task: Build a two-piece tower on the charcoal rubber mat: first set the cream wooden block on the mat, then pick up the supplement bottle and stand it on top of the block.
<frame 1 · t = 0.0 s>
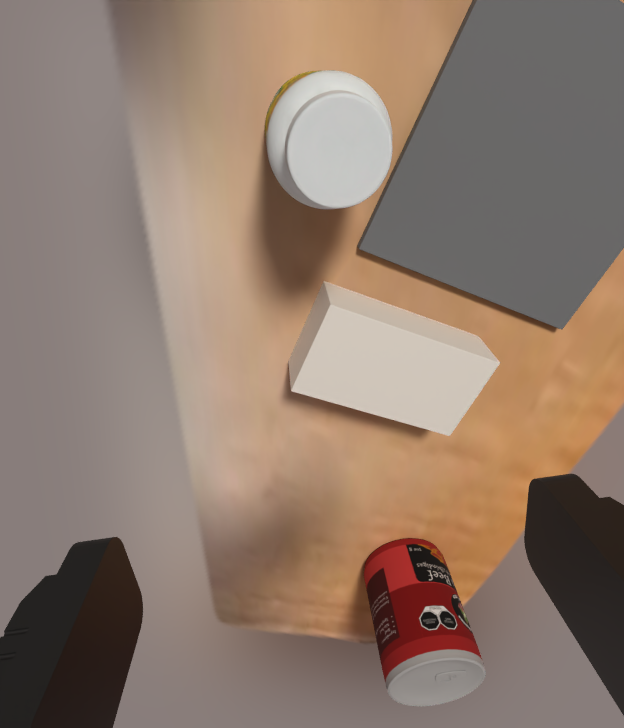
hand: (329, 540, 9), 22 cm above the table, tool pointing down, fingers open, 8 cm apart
canned food: (401, 559, 47), on the table
riser block: (382, 346, 34), on the table
supplement bottle: (314, 128, 26), on the table
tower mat: (537, 169, 28), on the table
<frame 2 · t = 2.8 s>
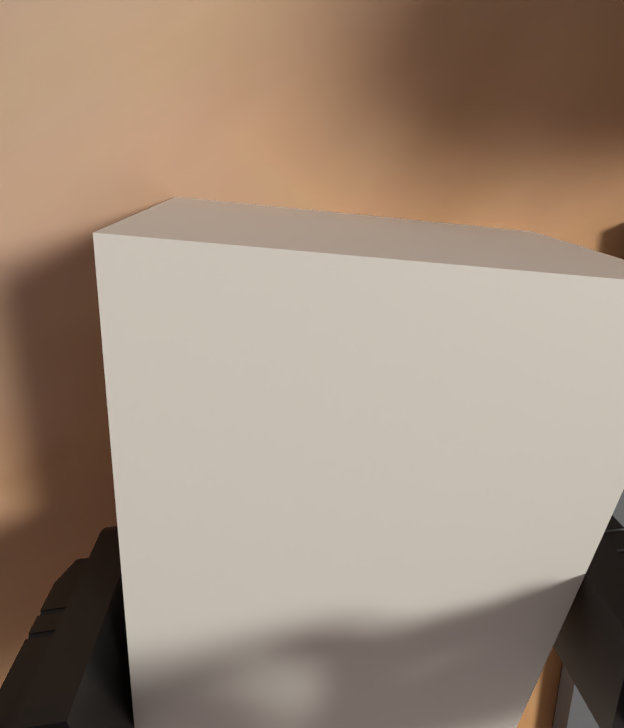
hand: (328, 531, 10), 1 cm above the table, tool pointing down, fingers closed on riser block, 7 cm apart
riser block: (323, 487, 11), on the table, touching gripper
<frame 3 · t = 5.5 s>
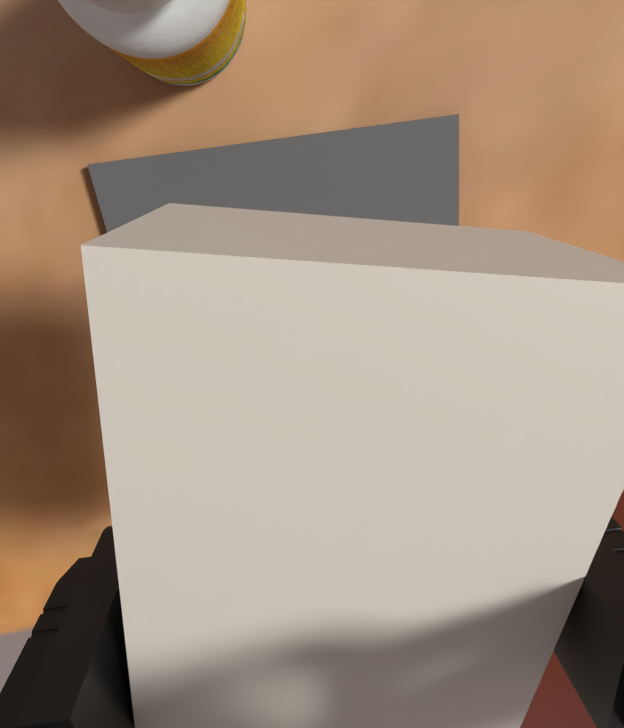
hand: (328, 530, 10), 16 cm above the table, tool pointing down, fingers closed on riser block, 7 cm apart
riser block: (323, 490, 11), point 14 cm above the table, touching gripper
supplement bottle: (180, 12, 19), on the table
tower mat: (299, 313, 24), on the table
when the fingers open (3 cm above the table, at t = 8.7 s): riser block stays where it is, resting on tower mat.
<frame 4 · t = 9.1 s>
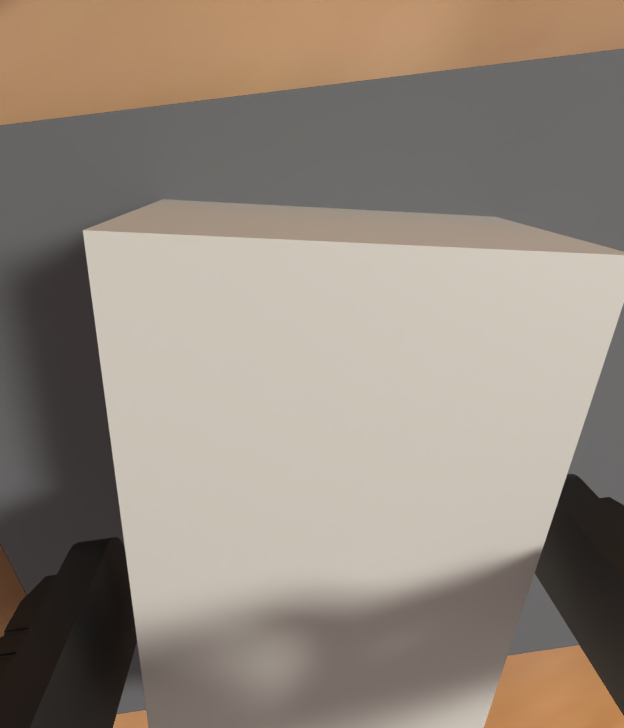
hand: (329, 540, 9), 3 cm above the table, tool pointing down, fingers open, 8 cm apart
riser block: (315, 468, 11), point 1 cm above the table, touching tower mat
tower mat: (317, 455, 12), on the table
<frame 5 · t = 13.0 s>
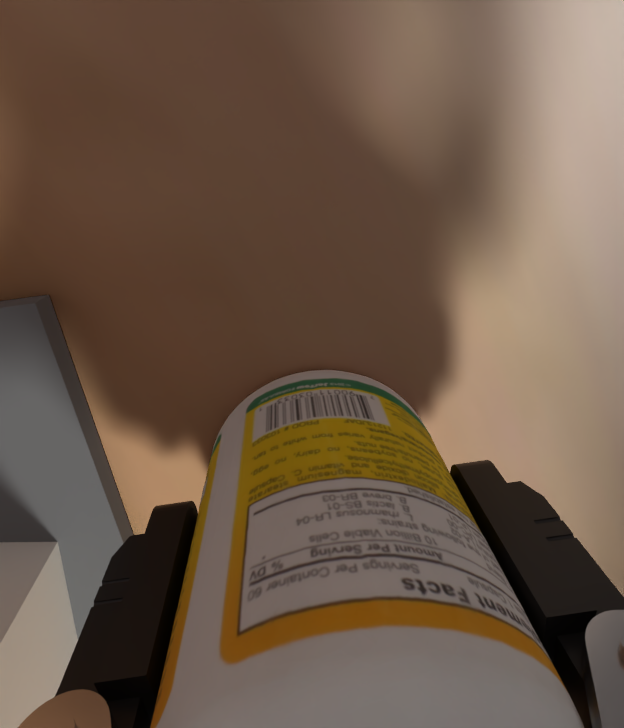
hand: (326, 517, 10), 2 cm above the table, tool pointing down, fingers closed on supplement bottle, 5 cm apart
supplement bottle: (318, 457, 12), on the table, touching gripper
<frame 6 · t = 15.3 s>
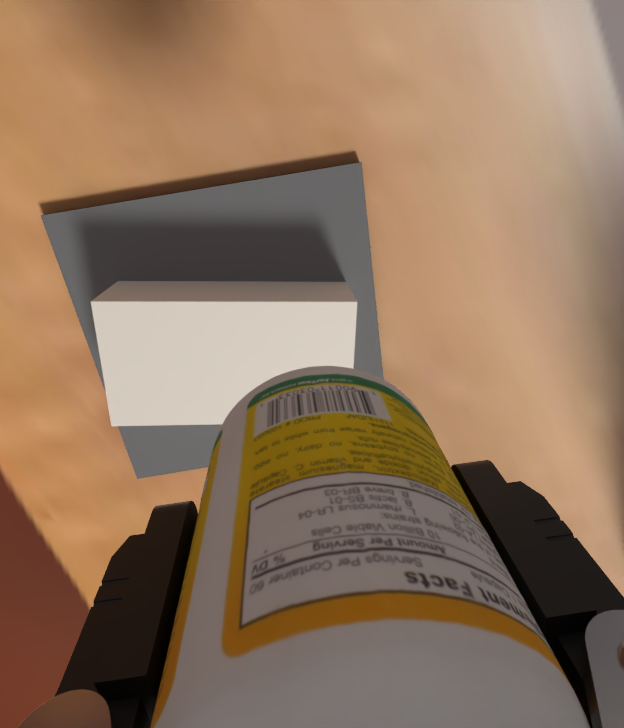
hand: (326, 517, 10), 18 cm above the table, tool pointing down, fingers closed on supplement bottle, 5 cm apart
riser block: (236, 337, 26), point 1 cm above the table, touching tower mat
supplement bottle: (319, 454, 12), point 16 cm above the table, touching gripper
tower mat: (236, 335, 27), on the table
when the fingers open (8 cm above the table, at t = 17.9 s): supplement bottle stays where it is, resting on riser block.
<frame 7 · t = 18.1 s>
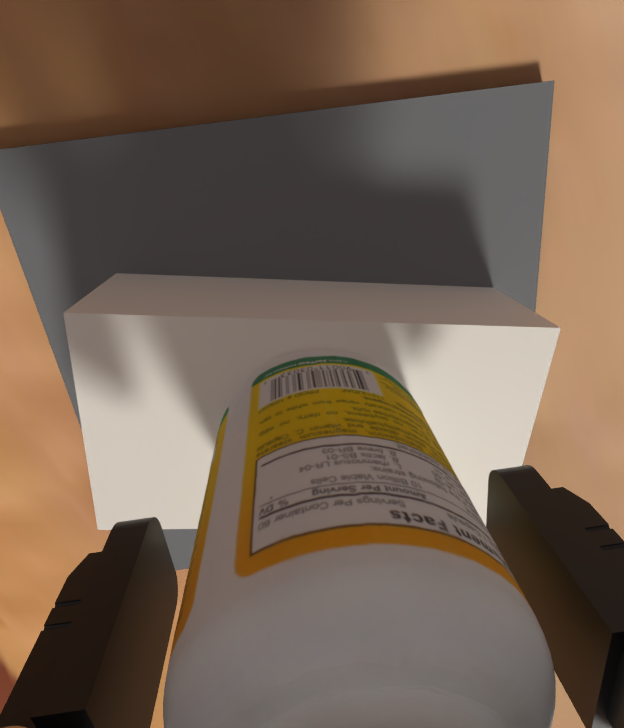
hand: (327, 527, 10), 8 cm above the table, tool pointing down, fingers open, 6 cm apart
riser block: (306, 372, 16), point 1 cm above the table, touching supplement bottle, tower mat
supplement bottle: (317, 432, 13), point 4 cm above the table, touching riser block
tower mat: (304, 368, 17), on the table
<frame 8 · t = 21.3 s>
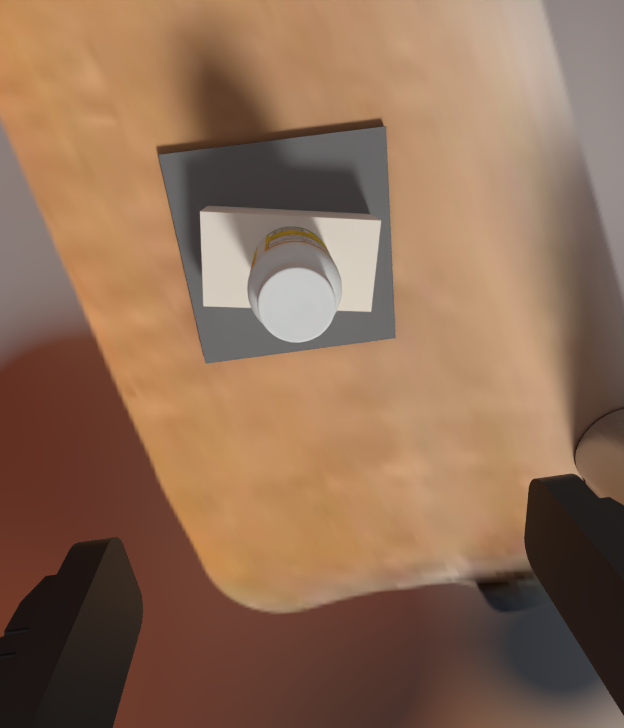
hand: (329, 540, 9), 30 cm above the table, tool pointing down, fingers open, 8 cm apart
riser block: (288, 253, 36), point 1 cm above the table, touching supplement bottle, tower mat
supplement bottle: (291, 264, 33), point 4 cm above the table, touching riser block
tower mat: (287, 253, 37), on the table
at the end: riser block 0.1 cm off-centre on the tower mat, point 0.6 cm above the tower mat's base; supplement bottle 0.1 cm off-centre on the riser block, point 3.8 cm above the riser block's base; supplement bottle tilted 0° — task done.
